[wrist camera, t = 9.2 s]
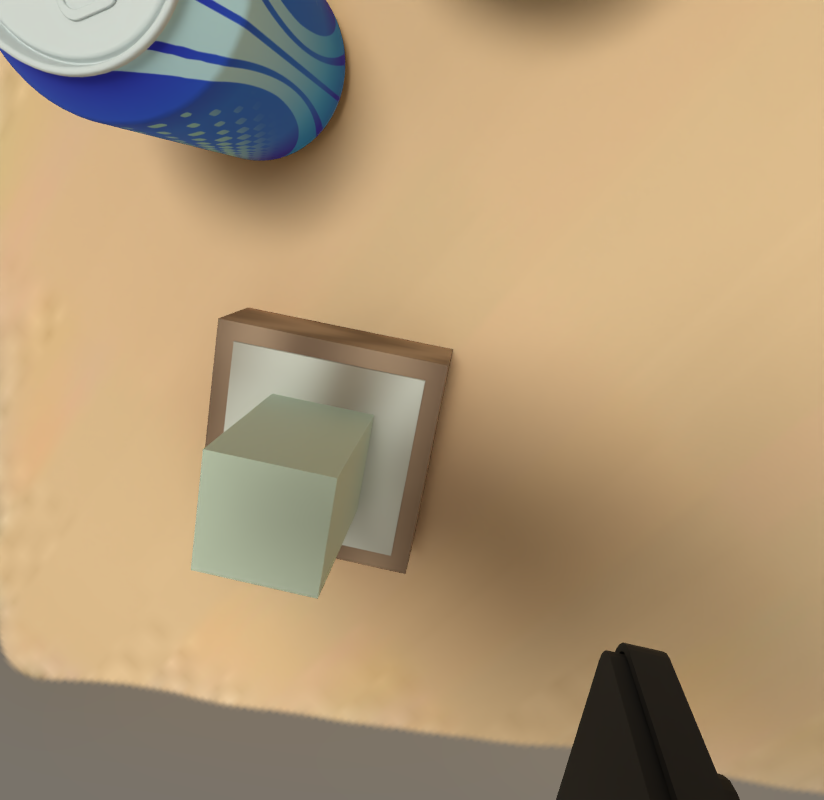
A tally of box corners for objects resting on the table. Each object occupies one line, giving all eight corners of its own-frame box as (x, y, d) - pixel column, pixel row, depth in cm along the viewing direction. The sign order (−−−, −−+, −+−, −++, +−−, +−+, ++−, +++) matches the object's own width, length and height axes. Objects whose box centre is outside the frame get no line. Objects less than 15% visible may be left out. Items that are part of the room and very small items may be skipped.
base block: (452, 349, 34) (448, 366, 30) (413, 537, 37) (405, 575, 33) (247, 307, 35) (217, 318, 31) (226, 496, 38) (195, 528, 34)
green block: (374, 415, 31) (337, 478, 24) (357, 509, 33) (317, 598, 25) (272, 393, 32) (203, 449, 24) (259, 488, 33) (191, 569, 25)
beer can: (161, 125, 33) (-122, 43, 18) (208, -58, 31) (-74, -337, 15) (317, 188, 33) (170, 161, 18) (376, 10, 31) (264, -200, 15)
